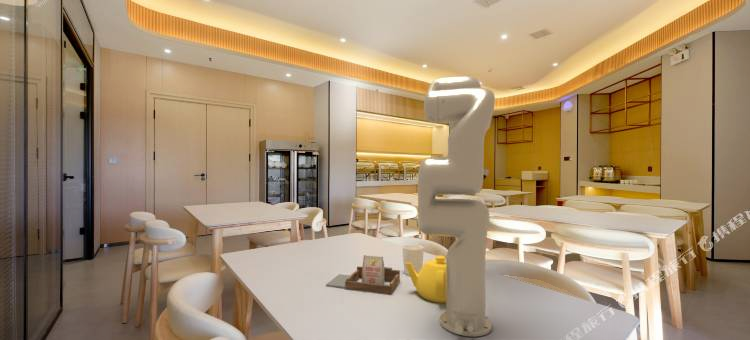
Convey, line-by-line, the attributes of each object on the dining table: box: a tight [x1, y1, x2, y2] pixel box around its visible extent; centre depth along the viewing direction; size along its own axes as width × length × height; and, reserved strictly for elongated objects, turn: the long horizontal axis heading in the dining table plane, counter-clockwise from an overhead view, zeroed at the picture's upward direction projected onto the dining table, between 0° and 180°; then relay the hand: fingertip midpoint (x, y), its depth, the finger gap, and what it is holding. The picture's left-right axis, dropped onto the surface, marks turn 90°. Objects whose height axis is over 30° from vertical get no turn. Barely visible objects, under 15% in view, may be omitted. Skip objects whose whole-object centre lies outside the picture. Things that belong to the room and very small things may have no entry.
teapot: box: [406, 254, 446, 304], centre depth 100 cm, size 17×17×12 cm
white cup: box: [402, 244, 424, 276], centre depth 120 cm, size 8×8×10 cm
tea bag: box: [361, 254, 385, 285], centre depth 107 cm, size 4×7×10 cm, turn 72°
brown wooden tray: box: [344, 266, 401, 296], centre depth 107 cm, size 12×16×5 cm
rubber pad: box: [325, 273, 352, 289], centre depth 111 cm, size 11×7×1 cm, turn 163°
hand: (465, 192), depth 122 cm, fingers open, 9 cm apart
